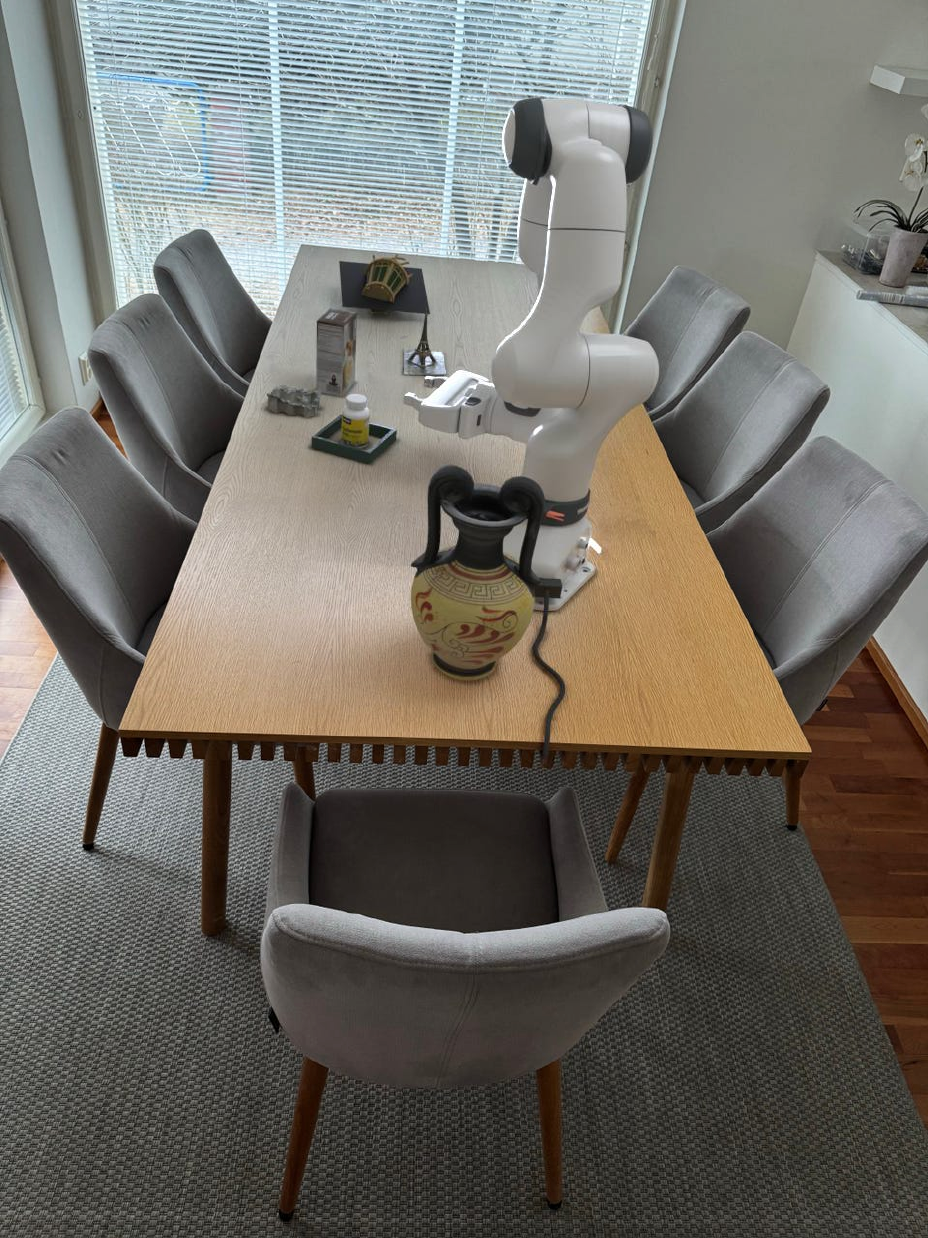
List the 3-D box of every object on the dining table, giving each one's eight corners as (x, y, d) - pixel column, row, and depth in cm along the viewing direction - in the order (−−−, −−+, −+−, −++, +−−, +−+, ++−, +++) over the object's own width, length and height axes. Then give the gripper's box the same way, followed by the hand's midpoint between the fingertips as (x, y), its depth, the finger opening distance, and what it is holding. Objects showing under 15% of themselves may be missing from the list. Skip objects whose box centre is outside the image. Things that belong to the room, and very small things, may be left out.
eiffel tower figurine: (446, 377, 220) (452, 321, 212) (403, 374, 219) (408, 317, 211) (443, 353, 232) (448, 299, 224) (402, 350, 231) (406, 296, 223)
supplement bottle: (336, 446, 185) (338, 399, 180) (347, 435, 190) (348, 389, 184) (362, 452, 184) (364, 405, 179) (372, 441, 189) (374, 395, 183)
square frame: (369, 464, 181) (370, 453, 179) (311, 447, 184) (311, 436, 182) (396, 439, 191) (397, 429, 189) (340, 424, 193) (340, 414, 192)
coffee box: (328, 377, 213) (329, 306, 203) (355, 382, 212) (358, 311, 203) (315, 392, 205) (316, 319, 196) (343, 397, 205) (345, 325, 195)
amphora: (519, 628, 143) (551, 450, 125) (529, 702, 129) (566, 513, 112) (404, 621, 141) (420, 439, 124) (402, 694, 128) (419, 502, 110)
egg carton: (264, 412, 195) (263, 393, 192) (275, 398, 201) (274, 379, 198) (314, 419, 194) (314, 401, 192) (323, 405, 200) (324, 387, 198)
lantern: (338, 330, 248) (335, 267, 266) (423, 343, 254) (414, 280, 272) (345, 285, 238) (342, 222, 256) (434, 300, 244) (424, 237, 262)
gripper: (504, 372, 179) (437, 355, 182) (466, 411, 163) (394, 391, 166) (499, 403, 183) (434, 386, 186) (462, 443, 167) (392, 424, 170)
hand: (415, 389), depth 176 cm, fingers open, 8 cm apart
